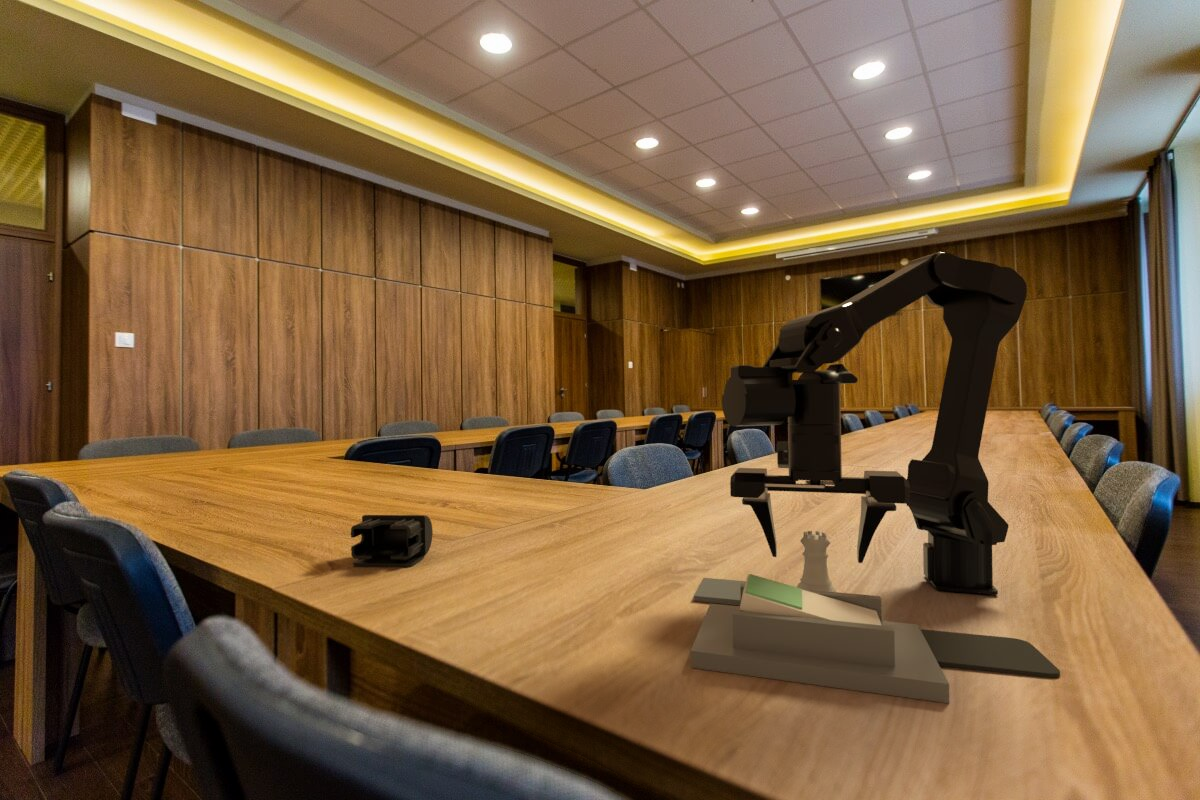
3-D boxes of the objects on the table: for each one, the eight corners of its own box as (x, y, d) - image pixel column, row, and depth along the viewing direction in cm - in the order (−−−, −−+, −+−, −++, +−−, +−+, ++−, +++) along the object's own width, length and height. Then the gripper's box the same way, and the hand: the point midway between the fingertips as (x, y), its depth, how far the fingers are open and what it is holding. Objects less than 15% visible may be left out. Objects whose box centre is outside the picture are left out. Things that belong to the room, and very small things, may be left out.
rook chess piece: (843, 609, 64) (842, 537, 64) (803, 609, 64) (802, 538, 64) (828, 595, 68) (827, 528, 68) (790, 595, 68) (789, 529, 68)
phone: (1066, 676, 47) (869, 654, 51) (1066, 685, 47) (869, 663, 51) (1026, 638, 54) (856, 622, 59) (1026, 647, 54) (856, 630, 59)
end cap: (433, 554, 89) (432, 511, 89) (414, 568, 82) (413, 521, 82) (372, 553, 90) (372, 511, 90) (348, 567, 83) (347, 521, 83)
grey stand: (917, 640, 55) (917, 593, 55) (949, 703, 44) (948, 645, 44) (710, 617, 62) (709, 576, 62) (691, 667, 51) (690, 616, 51)
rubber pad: (759, 587, 71) (759, 582, 71) (755, 607, 65) (755, 601, 65) (703, 582, 74) (703, 577, 74) (694, 600, 67) (694, 595, 67)
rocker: (872, 626, 54) (876, 608, 54) (881, 653, 48) (886, 634, 48) (744, 588, 58) (748, 572, 58) (739, 609, 52) (743, 591, 52)
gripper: (892, 420, 70) (894, 546, 70) (737, 421, 76) (740, 537, 77) (909, 425, 60) (912, 573, 60) (728, 425, 66) (731, 560, 66)
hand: (816, 559), depth 66 cm, fingers open, 9 cm apart
